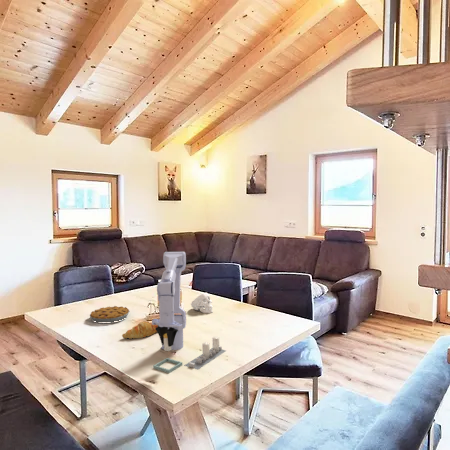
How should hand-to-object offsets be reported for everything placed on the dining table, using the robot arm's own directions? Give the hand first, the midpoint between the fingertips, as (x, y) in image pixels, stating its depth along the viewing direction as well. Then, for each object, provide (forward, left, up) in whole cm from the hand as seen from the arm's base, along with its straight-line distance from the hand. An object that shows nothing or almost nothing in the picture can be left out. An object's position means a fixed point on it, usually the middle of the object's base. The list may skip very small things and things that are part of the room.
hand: (167, 344), depth 145 cm
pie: (-72, +31, -10) cm, 79 cm away
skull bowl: (-34, +70, -10) cm, 78 cm away
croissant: (-36, +22, -10) cm, 43 cm away
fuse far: (+8, +22, -9) cm, 25 cm away
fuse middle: (+8, +15, -9) cm, 19 cm away
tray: (0, 0, -10) cm, 10 cm away
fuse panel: (+8, +15, -10) cm, 19 cm away
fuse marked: (0, 0, -2) cm, 2 cm away
